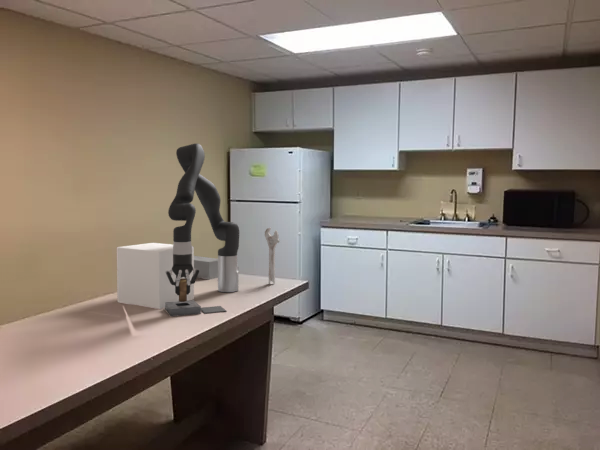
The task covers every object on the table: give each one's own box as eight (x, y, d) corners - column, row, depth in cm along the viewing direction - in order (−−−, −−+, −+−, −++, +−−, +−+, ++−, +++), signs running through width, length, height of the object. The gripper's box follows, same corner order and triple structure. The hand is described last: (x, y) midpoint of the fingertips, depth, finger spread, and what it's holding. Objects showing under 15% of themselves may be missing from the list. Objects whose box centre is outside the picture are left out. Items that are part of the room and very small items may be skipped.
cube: (193, 300, 236) (193, 246, 234) (159, 310, 218) (159, 251, 216) (153, 293, 248) (152, 242, 246) (117, 302, 230) (116, 247, 228)
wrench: (279, 286, 268) (280, 227, 265) (278, 287, 266) (279, 228, 264) (265, 285, 270) (265, 227, 268) (264, 285, 269) (264, 227, 266)
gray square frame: (194, 307, 222) (194, 300, 221) (200, 313, 211) (200, 306, 210) (165, 309, 217) (165, 302, 216) (170, 316, 206) (170, 309, 206)
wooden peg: (185, 299, 216) (185, 278, 215) (187, 301, 213) (187, 279, 212) (177, 300, 214) (177, 278, 213) (179, 302, 211) (179, 280, 210)
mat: (220, 306, 223) (220, 305, 223) (226, 311, 215) (226, 310, 215) (199, 308, 219) (199, 307, 219) (204, 313, 211) (204, 312, 211)
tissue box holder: (238, 276, 296) (238, 257, 295) (209, 282, 277) (209, 261, 276) (207, 271, 311) (207, 253, 310) (177, 276, 292) (176, 257, 291)
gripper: (197, 250, 218) (197, 291, 219) (163, 252, 212) (163, 294, 214) (201, 253, 211) (202, 295, 213) (166, 254, 205) (166, 297, 207)
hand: (182, 294), depth 213 cm, fingers closed on wooden peg, 3 cm apart
